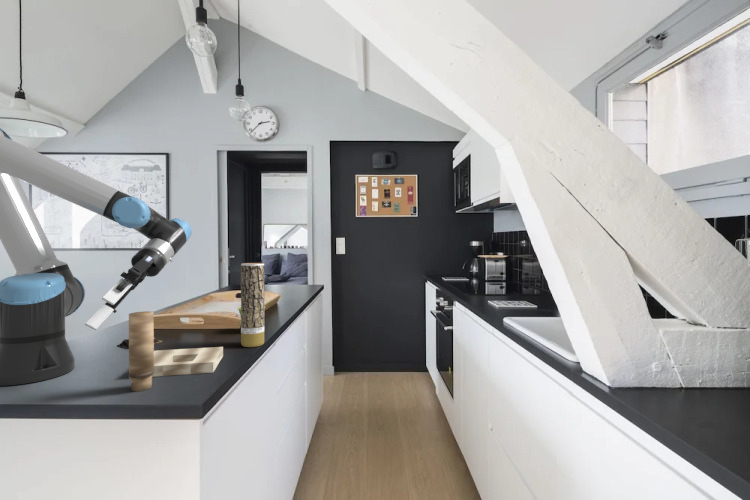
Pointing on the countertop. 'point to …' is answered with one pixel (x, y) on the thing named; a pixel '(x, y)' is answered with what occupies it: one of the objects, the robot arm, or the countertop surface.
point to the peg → (141, 350)
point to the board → (186, 361)
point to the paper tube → (252, 304)
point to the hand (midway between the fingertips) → (98, 314)
